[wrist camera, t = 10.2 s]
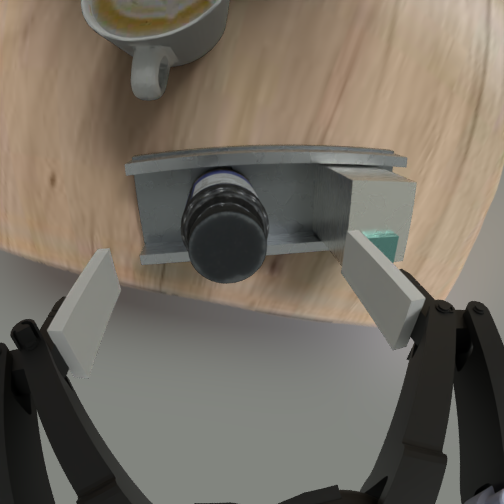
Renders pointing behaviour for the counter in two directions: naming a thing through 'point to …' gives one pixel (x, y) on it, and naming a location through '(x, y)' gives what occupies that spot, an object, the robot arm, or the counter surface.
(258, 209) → the pill bottle
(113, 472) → the robot arm
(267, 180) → the rail
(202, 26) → the coffee mug
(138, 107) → the counter surface
